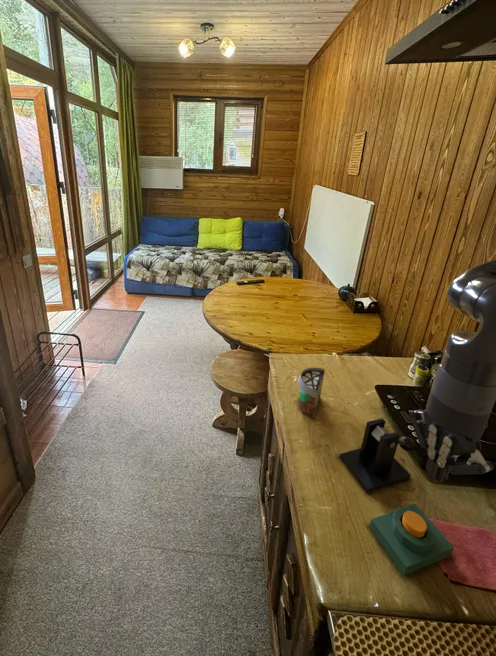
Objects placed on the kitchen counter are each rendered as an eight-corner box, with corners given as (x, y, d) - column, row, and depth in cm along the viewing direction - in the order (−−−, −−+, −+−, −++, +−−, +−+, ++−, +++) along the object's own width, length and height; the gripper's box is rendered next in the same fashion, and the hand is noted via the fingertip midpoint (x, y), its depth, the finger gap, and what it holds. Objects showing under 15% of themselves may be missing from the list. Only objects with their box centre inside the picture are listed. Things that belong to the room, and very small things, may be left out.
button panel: (412, 510, 63) (417, 496, 62) (451, 555, 56) (457, 540, 55) (368, 526, 60) (372, 512, 59) (404, 575, 53) (409, 560, 52)
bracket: (378, 446, 78) (388, 408, 74) (410, 478, 70) (422, 438, 66) (339, 457, 75) (346, 418, 71) (366, 493, 67) (377, 451, 63)
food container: (301, 388, 98) (304, 361, 95) (320, 395, 95) (325, 368, 92) (289, 412, 88) (293, 383, 85) (311, 421, 85) (316, 392, 82)
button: (411, 514, 59) (414, 508, 59) (429, 535, 56) (431, 528, 55) (397, 520, 58) (399, 513, 58) (414, 541, 55) (416, 534, 54)
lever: (400, 444, 75) (408, 434, 75) (412, 455, 72) (420, 445, 72) (368, 433, 70) (376, 422, 70) (379, 444, 67) (387, 433, 67)
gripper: (528, 422, 44) (492, 508, 49) (438, 367, 56) (417, 441, 61) (490, 434, 42) (457, 522, 47) (405, 374, 54) (387, 450, 59)
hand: (434, 476), depth 54 cm, fingers closed
